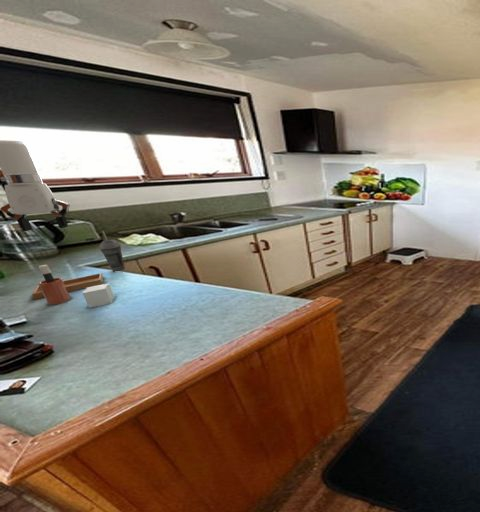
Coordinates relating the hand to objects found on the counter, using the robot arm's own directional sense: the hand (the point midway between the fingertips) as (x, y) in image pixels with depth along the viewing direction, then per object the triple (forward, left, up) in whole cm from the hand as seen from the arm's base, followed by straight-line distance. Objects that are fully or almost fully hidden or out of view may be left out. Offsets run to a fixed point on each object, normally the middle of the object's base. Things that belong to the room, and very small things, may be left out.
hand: (46, 228), depth 98 cm
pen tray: (-3, +15, -28) cm, 31 cm away
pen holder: (-5, 0, -28) cm, 28 cm away
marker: (-5, 0, -27) cm, 27 cm away
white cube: (+7, -14, -28) cm, 32 cm away
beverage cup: (+12, +28, -28) cm, 41 cm away
